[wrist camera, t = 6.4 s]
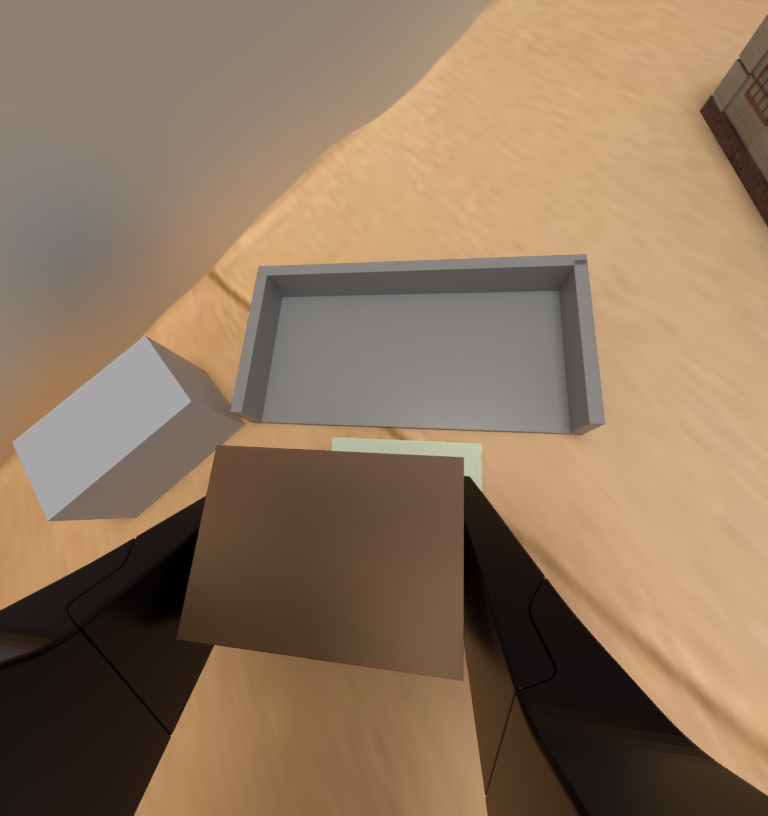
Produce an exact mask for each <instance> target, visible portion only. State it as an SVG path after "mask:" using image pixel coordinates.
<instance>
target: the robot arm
mask: <svg viewBox="0 0 768 816" xmlns="http://www.w3.org/2000/svg"><path fill="white" fill-rule="evenodd" d="M205 499H206V496H205V497H203V498H201V499H200V500H198V501H196V502H195V503H193V504H191V505H190V506H188V507H186V508H184V509H183V510H181V511H179V512H178V513H176V514H174V515H172V516H171V517H169V518H167V519H166V520H164V521H162V522H161V523H159V524H157V525H155V526H154V527H152V528H150V529H149V530H147V531H145V532H143V533H142V534H140V535H138V536H137V537H136V539H131V540H130V541H128V542H126V543H125V544H123V545H121V546H120V547H118V548H116V549H114V550H113V551H111V552H109V553H107V554H106V555H104V556H102V557H100V558H99V559H97V560H95V561H93V562H92V563H90V564H88V565H86V566H84V567H82V568H80V569H78V570H77V571H75V572H73V573H71V574H69V575H67V576H65V577H63V578H61V579H60V580H58V581H56V582H54V583H52V584H50V585H48V586H46V587H44V588H42V589H40V590H38V591H37V592H35V593H33V594H31V595H29V596H27V597H25V598H23V599H21V600H19V601H17V602H15V603H14V604H12V605H10V606H8V607H6V608H4V609H2V610H0V816H134V814H135V812H136V810H137V808H138V806H139V803H140V801H141V799H142V797H143V795H144V793H145V791H146V789H147V787H148V784H149V782H150V780H151V778H152V776H153V774H154V772H155V770H156V768H157V765H158V763H159V761H160V759H161V757H162V755H163V753H164V751H165V749H166V747H167V744H168V742H169V740H170V738H171V736H170V735H172V733H173V731H174V729H175V727H176V725H177V723H178V721H179V719H180V716H181V714H182V712H183V710H184V708H185V706H186V704H187V702H188V700H189V697H190V695H191V693H192V691H193V689H194V687H195V685H196V683H197V681H198V678H199V676H200V674H201V672H202V670H203V668H204V666H205V664H206V662H207V660H208V657H209V655H210V653H211V651H212V649H213V647H214V645H212V644H205V643H198V642H191V641H184V640H178V639H177V634H178V629H179V625H180V620H181V615H182V610H183V605H184V600H185V596H186V591H187V586H188V581H189V576H190V572H191V567H192V562H193V557H194V552H195V547H196V543H197V538H198V533H199V528H200V523H201V519H202V514H203V509H204V504H205ZM463 638H464V645H465V653H466V660H467V667H468V674H469V682H470V689H471V696H472V703H473V711H474V718H475V725H476V733H477V740H478V747H479V754H480V762H481V769H482V776H483V783H484V791H485V795H486V806H487V813H488V816H768V796H767V795H766V794H764V793H763V792H761V791H760V790H758V789H757V788H755V787H754V786H752V785H751V784H749V783H748V782H746V781H745V780H743V779H742V778H740V777H739V776H737V775H736V774H734V773H733V772H731V771H730V770H728V769H727V768H725V767H724V766H722V765H721V764H719V763H718V762H717V761H715V760H714V759H713V758H711V757H710V756H709V755H708V754H706V753H705V752H704V751H703V750H701V749H700V748H699V747H698V746H697V745H696V744H694V743H693V742H692V741H691V740H690V739H689V738H688V737H686V736H685V735H684V734H683V733H682V732H681V731H680V730H679V729H678V728H677V727H676V726H675V725H674V724H673V723H672V722H671V721H670V720H669V719H668V718H667V717H666V716H665V715H664V713H663V712H662V711H661V710H660V709H659V708H658V707H657V706H656V705H655V704H654V703H653V701H652V700H651V699H650V698H649V697H648V696H647V695H646V694H645V693H644V691H643V690H642V689H641V688H640V687H639V686H638V685H637V684H636V683H635V682H634V680H633V679H632V678H631V677H630V676H629V675H628V674H627V673H626V672H625V670H624V669H623V668H622V667H621V666H620V665H619V664H618V663H617V662H616V661H615V659H614V658H613V657H612V656H611V655H610V654H609V653H608V652H607V651H606V650H605V648H604V647H603V646H602V645H601V644H600V643H599V642H598V641H597V639H596V638H595V637H594V636H593V635H592V634H591V633H590V631H589V630H588V629H587V628H586V627H585V626H584V625H583V623H582V622H581V621H580V620H579V619H578V618H577V616H576V615H575V614H574V613H573V612H572V610H571V609H570V608H569V606H568V605H567V604H566V603H565V601H564V600H563V599H562V598H561V596H560V595H559V594H558V593H557V591H556V590H555V589H554V587H553V586H552V585H551V583H550V582H549V580H548V579H546V578H545V576H544V574H543V573H542V571H541V570H540V569H539V567H538V566H537V565H536V563H535V562H534V561H533V559H532V558H531V557H530V555H529V554H528V553H527V551H526V550H525V549H524V547H523V546H522V545H521V543H520V542H519V541H518V540H517V538H516V537H515V536H514V534H513V533H512V532H511V530H510V529H509V528H508V526H507V525H506V524H505V522H504V521H503V520H502V518H501V517H500V516H499V514H498V513H497V512H496V510H495V509H494V508H493V506H492V505H491V504H490V502H489V501H488V500H487V498H486V497H485V496H484V494H483V493H482V492H481V490H480V489H479V488H478V486H477V485H476V484H475V482H474V481H473V480H472V478H471V477H469V476H464V602H463Z"/></svg>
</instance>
